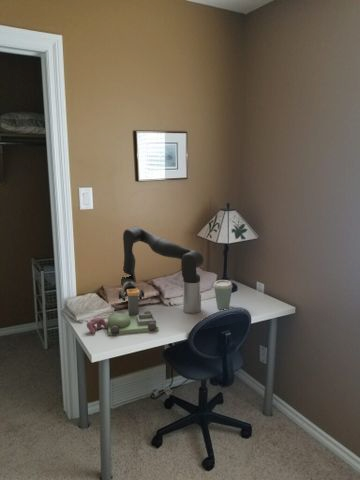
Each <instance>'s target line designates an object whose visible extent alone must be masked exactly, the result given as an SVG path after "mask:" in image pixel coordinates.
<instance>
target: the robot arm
mask: <svg viewBox="0 0 360 480" xmlns="http://www.w3.org/2000/svg"><path fill="white" fill-rule="evenodd" d="M122 239H123V240H122V242H123V265H124V266H123V268H122V270H123V271H124V272H123V273H124V274H125V275H131V276H129V277H126V278H125V277H122V279H121V285H122V286H123V287H122V290H124V291H119V290H118V299H119V300H122V301H123V302H126V299H127V298H126V297H127V296H128V295H127V289H137V287H136V284H134V282H136V283H137V278H136V273H135V270H136V269H135V268H136V257H135V255H134V253H133V247H134V244H135V243H138V242H142V243H145V244H146V245H148V246H149V249H151V251H152V252H154V253H155V254H157V255H159V256H162V257H166V258H172V259H177V260H181V261H180V263H181V264H180V265H181V266H180V267H181V269H180V270H181V276H182V279H183V281H182V282H183V284H182V287H183V289H182V291H183V292H182V295H183V297H182V304H183V305H182V308H183V310H182V311H183V312H184V313H186V314H197V313H200V312H201V311H202V295H201V276H200V275H199V274H198V273H197V268H199V267H201V266H202V265H203V264H204V256H203V254H202V253H201V252H199V251H198V250H195V249H192V248H187V247H184V246H181V245H180V244H177V243H175V242H173V241H170V240H168V239H165V238H163V237H161V236H158V235H155V234H153V233H151V232H149V231H147V230H146V229H144V228H142V227H140V226H136V225H135V226H132V227H129V228H126V229H125V230H124V231H123V235H122ZM121 285H120V286H121ZM139 292H140V293H139V295H138V301H141V300H142V299H143V298H145V291H144V290H143V289H140V290H139Z"/></svg>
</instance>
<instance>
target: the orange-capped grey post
mask: <svg viewBox="0 0 360 480" xmlns="http://www.w3.org/2000/svg"><path fill="white" fill-rule="evenodd" d="M139 291H140V290H139V288H136V289H127V295H128V298H127V302H128V303H127V304H128V307H127V308H128V315H129V316H137V315H140V314H139V313H140V310H139V309H140V307H139V306H140V305H139V297H138V295H139Z"/></svg>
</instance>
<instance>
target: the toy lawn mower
mask: <svg viewBox="0 0 360 480" xmlns="http://www.w3.org/2000/svg"><path fill="white" fill-rule="evenodd" d="M107 325H108V328H107V329H108V336H117V335H127V334H128V335H129V334H137V333H147V332H158V331H159V325H158V321H157V319H156V317H155V314H154V312H153V313H152V311H150V310H146V311H144V313H142V314H139V315H137V316H129V314H126V313H111V314H110V315H109V316H108V317H107Z"/></svg>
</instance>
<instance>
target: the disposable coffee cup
mask: <svg viewBox="0 0 360 480" xmlns="http://www.w3.org/2000/svg"><path fill="white" fill-rule="evenodd" d="M213 288H214V289H213V290H214V295H215V301H216V302H215V303H216V307H217V309H218V310H222V311H224V310H223V309H226V310H228V309H229V308H230V303H231V297H232V290H233V284H232V281H230V280H228V279H219V280H216V281H215V282H214V284H213Z"/></svg>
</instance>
